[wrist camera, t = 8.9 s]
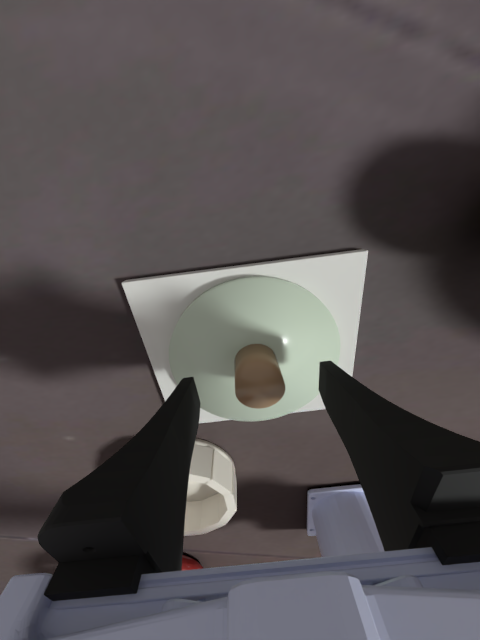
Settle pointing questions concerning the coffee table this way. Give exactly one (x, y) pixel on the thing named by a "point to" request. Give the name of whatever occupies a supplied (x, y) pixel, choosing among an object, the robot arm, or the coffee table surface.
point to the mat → (309, 272)
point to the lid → (254, 347)
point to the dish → (210, 489)
